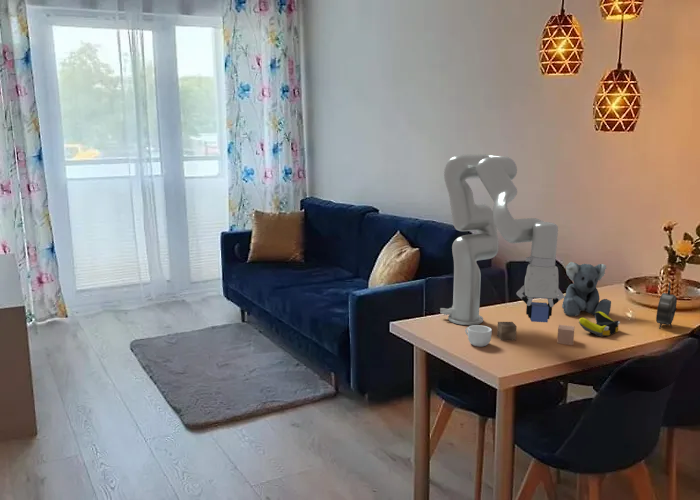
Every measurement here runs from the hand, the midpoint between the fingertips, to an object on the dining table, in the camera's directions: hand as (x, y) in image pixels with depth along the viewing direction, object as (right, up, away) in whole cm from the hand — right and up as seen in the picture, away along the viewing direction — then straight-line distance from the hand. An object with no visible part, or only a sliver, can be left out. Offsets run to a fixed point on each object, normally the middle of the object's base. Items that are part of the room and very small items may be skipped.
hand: (538, 316), depth 210 cm
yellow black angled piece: (+27, -7, +19) cm, 34 cm away
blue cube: (0, -1, 0) cm, 1 cm away
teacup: (-19, -10, +6) cm, 22 cm away
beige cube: (+11, -9, +8) cm, 17 cm away
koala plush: (+29, -3, +44) cm, 53 cm away
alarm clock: (+53, -6, +25) cm, 59 cm away
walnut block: (-7, -8, +12) cm, 16 cm away
